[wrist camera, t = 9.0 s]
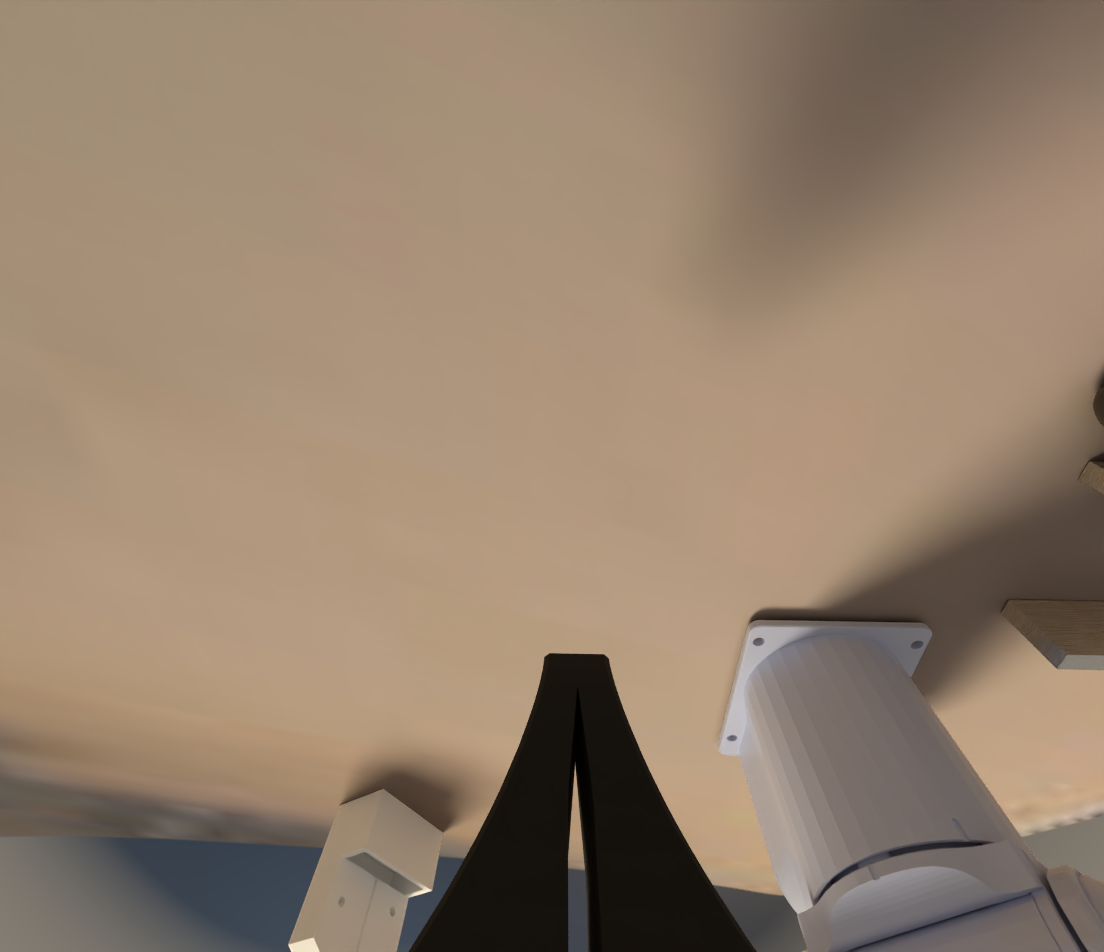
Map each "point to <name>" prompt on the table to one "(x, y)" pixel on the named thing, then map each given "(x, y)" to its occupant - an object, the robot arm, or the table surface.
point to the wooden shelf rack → (1065, 616)
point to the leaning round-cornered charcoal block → (1099, 405)
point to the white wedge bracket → (367, 877)
